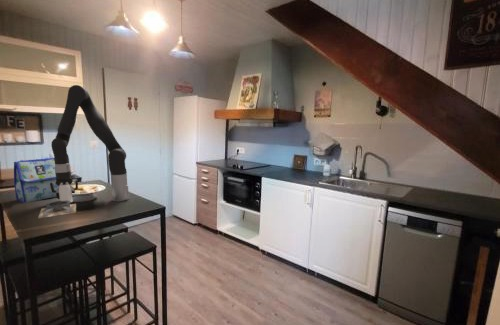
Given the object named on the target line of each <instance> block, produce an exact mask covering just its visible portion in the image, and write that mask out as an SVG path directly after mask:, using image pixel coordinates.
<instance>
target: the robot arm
mask: <svg viewBox="0 0 500 325" xmlns="http://www.w3.org/2000/svg"><path fill="white" fill-rule="evenodd" d="M79 108H80V109H81V110H82V112H83V114H84V117H85V119H86V122H87V123H88V124H87V125H88V126H89V128H90V129H91V131H92V132H93V134H94V135H95V136H96V137H97V138H98V140H100V142H102V143H103V145H104V146H105V147H106V149H107V151H108V152H109V153H108V156H107V157H108V158H107V159H108V160H107V161H108V167H109V172H110V183H111V184H110V185H111V187H110V188H111V196H112V198H111V200H112V201H113V202H124V201H127V200H130V199H129V198H130V196H129V195H130V194H129V185H128V174H127V173H128V172H127V168H126V158H127V152H126V151H125V150H124V149H123V147H122V146H121V144H120V143H119V142H118V140H117V138H115V137H116V136H114V133H113V131H112V129H111V127H110V126H109V124H108V123H107V121H106V120H105V118H104V117H103V115H102V114H101V112H100V111H99V110H98V109H97V107H96V106H95V104H94V101H93V100H92V98H91V95H90V93H89V92H88V90H87V89H86V88H84V87H83V86H81V85H78V84H74V85H71V86H70V87H69V88H68V91H67V98H66V103H65V107H64V111H63V113H62V117H61V119H60V121H59V124H58V126H57V133H56V136H55V138H54V139H52V141H51V143H50V144H51V150H52V153H53V158H54V161H55V174H56V182H51V183H50V186H51V190H52V193H56V197H55V198H56V199H58V200H60V198H59V187H60V185H65V184H69V185H70V188H71V190H72V193H75V194H76V191H77V190H79V180H78V179H72V171H71V165H70V158H69V154H68V150H67V147H68V145H69V142H70V140H71V135H72V133H73V131H74V128H75V125H76V120H77V115H78V110H79ZM55 184H57V185H58V186H59V187H58V188H57V190H54V185H55ZM72 184H75V186H73V185H72ZM72 197H73V198H74V197H75V196H72Z"/></svg>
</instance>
